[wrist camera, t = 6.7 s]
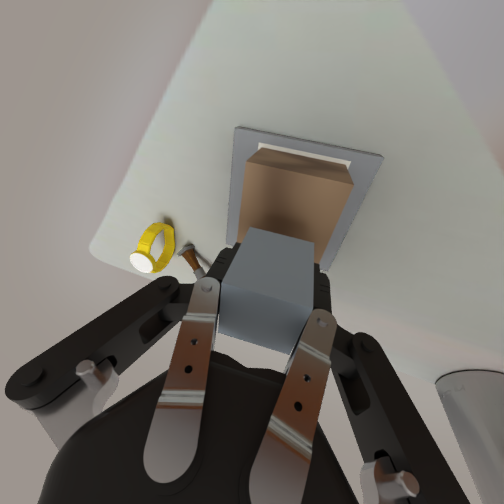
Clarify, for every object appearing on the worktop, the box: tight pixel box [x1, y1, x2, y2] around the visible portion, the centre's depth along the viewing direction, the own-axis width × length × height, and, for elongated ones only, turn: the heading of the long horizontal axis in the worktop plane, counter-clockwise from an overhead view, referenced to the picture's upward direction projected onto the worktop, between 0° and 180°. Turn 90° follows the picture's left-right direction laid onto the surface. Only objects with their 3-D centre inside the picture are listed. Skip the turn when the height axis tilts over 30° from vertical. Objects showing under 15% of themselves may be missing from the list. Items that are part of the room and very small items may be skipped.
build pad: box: [226, 127, 384, 271], centre depth 21 cm, size 12×12×1 cm
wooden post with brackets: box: [177, 245, 206, 280], centre depth 28 cm, size 2×8×4 cm, turn 45°
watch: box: [130, 222, 175, 273], centre depth 25 cm, size 6×3×6 cm, turn 170°
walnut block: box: [237, 147, 354, 264], centre depth 18 cm, size 7×10×5 cm
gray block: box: [218, 227, 314, 355], centre depth 12 cm, size 4×4×5 cm
